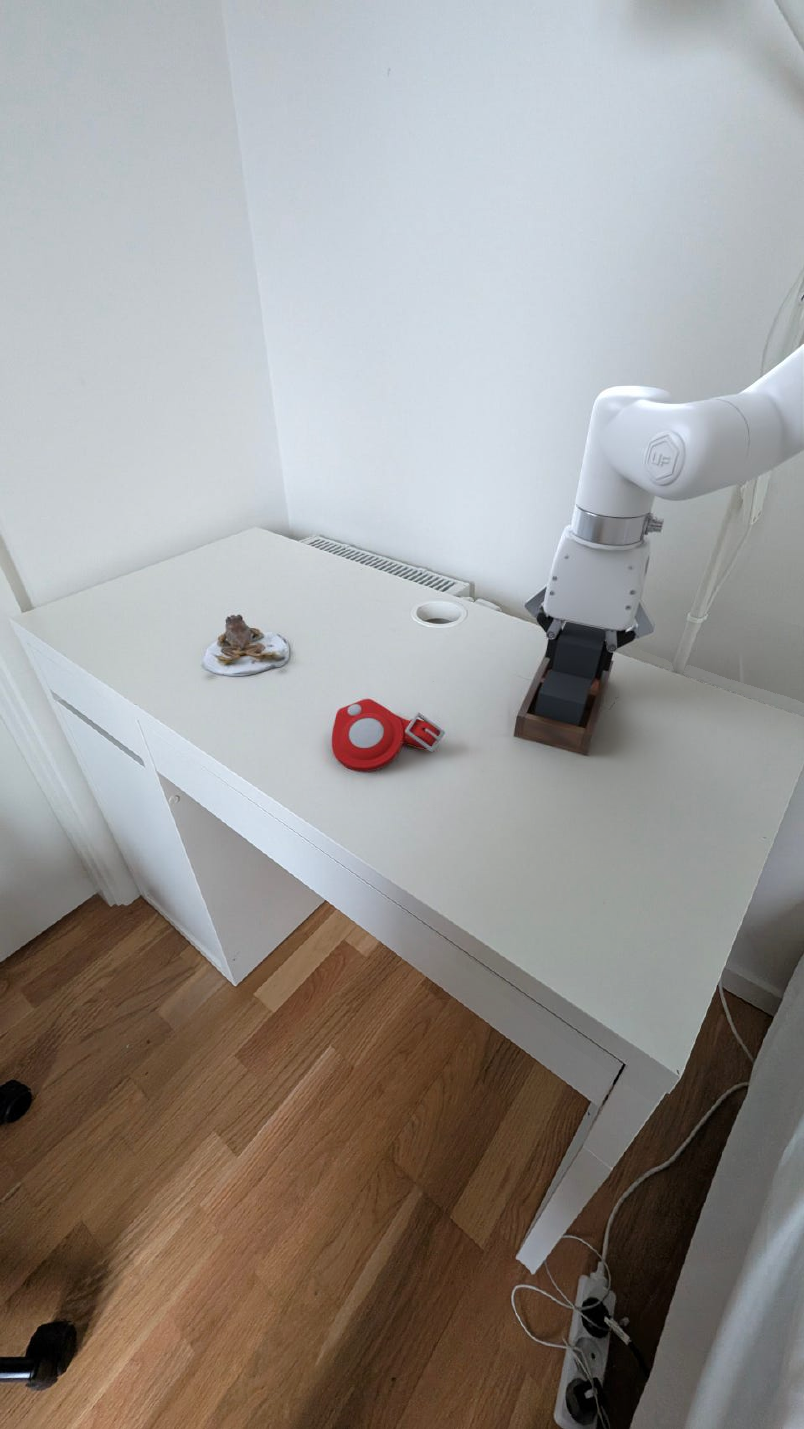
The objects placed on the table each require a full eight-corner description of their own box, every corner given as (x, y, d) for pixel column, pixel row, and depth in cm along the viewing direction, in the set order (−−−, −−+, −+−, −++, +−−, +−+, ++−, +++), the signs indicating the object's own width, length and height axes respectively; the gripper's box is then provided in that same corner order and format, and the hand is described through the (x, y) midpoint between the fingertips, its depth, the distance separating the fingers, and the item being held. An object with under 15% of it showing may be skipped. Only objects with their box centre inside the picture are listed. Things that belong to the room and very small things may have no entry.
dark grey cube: (583, 713, 69) (592, 679, 66) (575, 739, 66) (584, 704, 62) (541, 703, 71) (548, 669, 68) (532, 727, 67) (538, 692, 64)
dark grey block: (599, 664, 73) (608, 629, 70) (592, 685, 69) (601, 649, 66) (559, 655, 74) (566, 621, 71) (550, 675, 71) (557, 640, 68)
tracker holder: (343, 778, 60) (314, 707, 65) (351, 796, 63) (323, 727, 69) (449, 733, 61) (412, 666, 67) (451, 753, 65) (416, 689, 70)
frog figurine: (192, 643, 82) (186, 620, 80) (274, 624, 86) (270, 601, 84) (210, 686, 74) (204, 661, 72) (299, 662, 78) (296, 638, 76)
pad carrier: (608, 680, 76) (613, 660, 74) (587, 756, 64) (592, 735, 62) (544, 665, 78) (548, 646, 76) (513, 736, 67) (516, 715, 65)
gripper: (697, 523, 60) (650, 668, 72) (536, 501, 66) (516, 639, 77) (694, 549, 55) (644, 702, 66) (519, 523, 60) (500, 668, 72)
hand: (575, 666), depth 71 cm, fingers closed on dark grey block, 5 cm apart
